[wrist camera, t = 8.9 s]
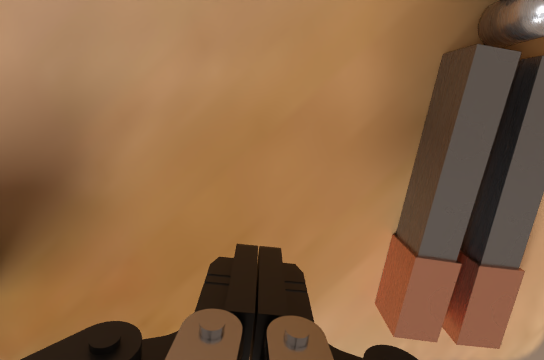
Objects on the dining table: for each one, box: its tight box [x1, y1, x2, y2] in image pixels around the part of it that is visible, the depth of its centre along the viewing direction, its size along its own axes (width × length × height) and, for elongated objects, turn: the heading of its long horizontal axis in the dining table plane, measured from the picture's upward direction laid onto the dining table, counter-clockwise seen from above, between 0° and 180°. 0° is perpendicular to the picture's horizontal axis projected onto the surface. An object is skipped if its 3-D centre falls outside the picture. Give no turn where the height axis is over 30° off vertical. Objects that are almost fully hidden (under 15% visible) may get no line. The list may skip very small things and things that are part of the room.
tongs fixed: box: [442, 0, 544, 349], centre depth 17 cm, size 21×5×4 cm, turn 173°
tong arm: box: [375, 44, 521, 342], centre depth 18 cm, size 16×3×3 cm, turn 171°
